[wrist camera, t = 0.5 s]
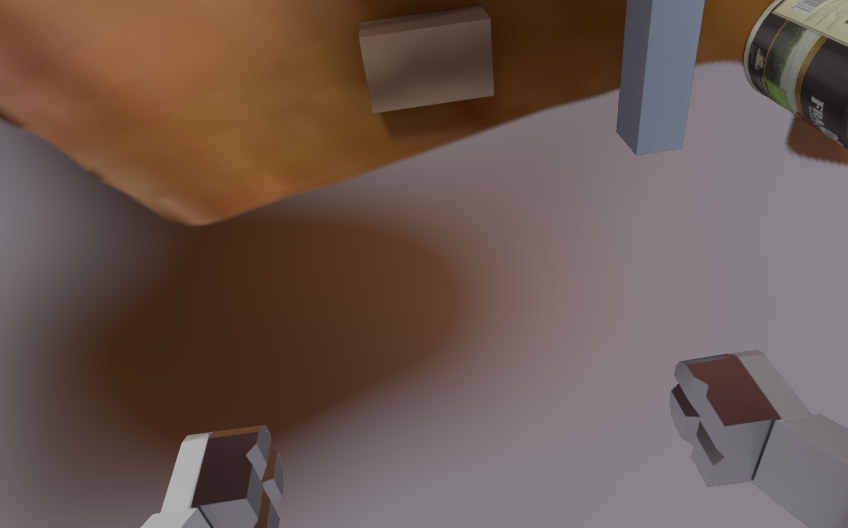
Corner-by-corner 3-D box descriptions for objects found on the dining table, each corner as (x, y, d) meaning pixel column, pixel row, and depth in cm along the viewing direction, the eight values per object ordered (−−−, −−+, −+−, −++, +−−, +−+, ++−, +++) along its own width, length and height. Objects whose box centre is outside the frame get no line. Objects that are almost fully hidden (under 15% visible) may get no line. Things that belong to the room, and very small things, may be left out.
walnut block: (358, 22, 48) (358, 38, 44) (480, 4, 48) (490, 18, 44) (371, 93, 51) (372, 113, 48) (484, 76, 51) (494, 95, 48)
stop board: (636, -121, 43) (664, -116, 39) (690, -129, 43) (724, -125, 39) (616, 131, 55) (636, 155, 51) (658, 125, 55) (681, 148, 51)
